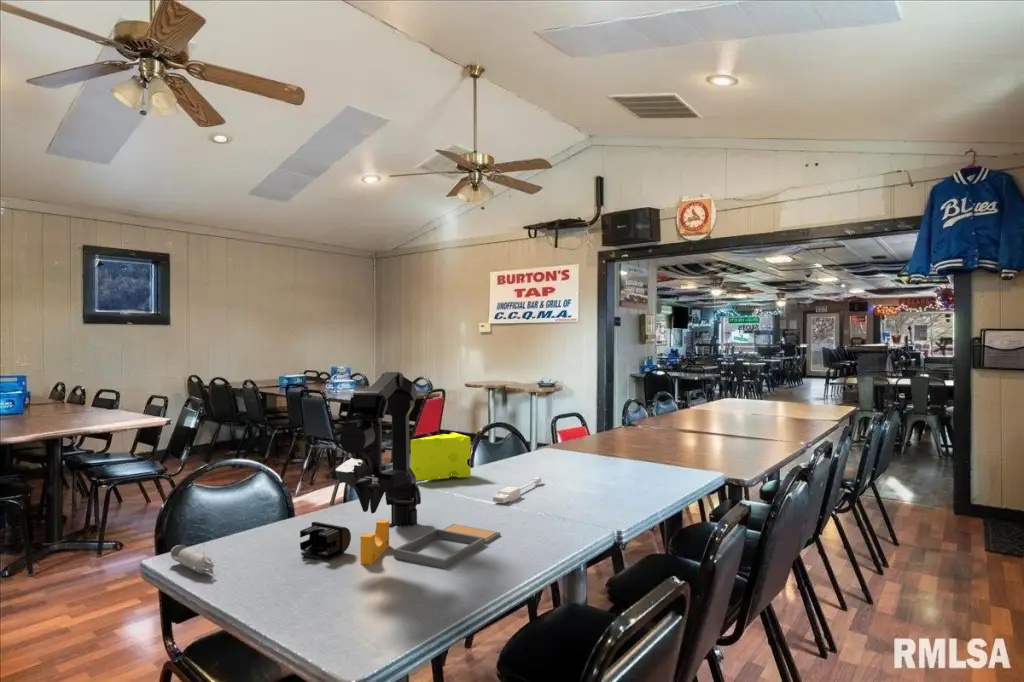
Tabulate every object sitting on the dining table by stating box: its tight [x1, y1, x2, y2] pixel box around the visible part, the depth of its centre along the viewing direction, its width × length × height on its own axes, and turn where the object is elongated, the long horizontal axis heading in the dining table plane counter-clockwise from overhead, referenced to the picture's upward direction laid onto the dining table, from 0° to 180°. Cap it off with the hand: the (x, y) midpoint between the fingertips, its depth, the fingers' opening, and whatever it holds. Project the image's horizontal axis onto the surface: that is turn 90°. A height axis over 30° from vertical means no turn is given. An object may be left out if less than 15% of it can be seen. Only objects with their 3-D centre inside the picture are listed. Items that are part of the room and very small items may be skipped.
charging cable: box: [492, 477, 543, 504], centre depth 192 cm, size 5×31×3 cm, turn 152°
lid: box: [442, 523, 501, 545], centre depth 149 cm, size 15×7×1 cm, turn 61°
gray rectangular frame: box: [393, 528, 486, 570], centre depth 138 cm, size 15×17×2 cm
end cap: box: [299, 521, 352, 562], centre depth 138 cm, size 10×7×7 cm
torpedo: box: [170, 542, 217, 575], centre depth 130 cm, size 18×5×7 cm, turn 53°
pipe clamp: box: [360, 519, 390, 565], centre depth 137 cm, size 12×4×6 cm, turn 173°
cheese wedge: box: [410, 431, 472, 481], centre depth 216 cm, size 19×20×15 cm
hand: (369, 512), depth 132 cm, fingers closed
